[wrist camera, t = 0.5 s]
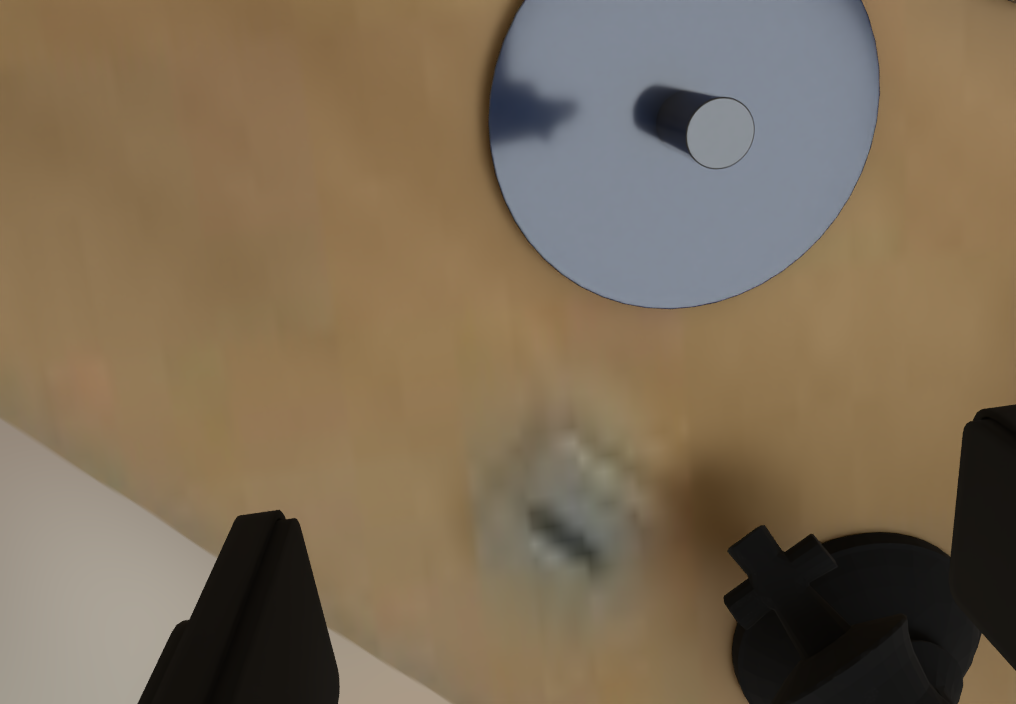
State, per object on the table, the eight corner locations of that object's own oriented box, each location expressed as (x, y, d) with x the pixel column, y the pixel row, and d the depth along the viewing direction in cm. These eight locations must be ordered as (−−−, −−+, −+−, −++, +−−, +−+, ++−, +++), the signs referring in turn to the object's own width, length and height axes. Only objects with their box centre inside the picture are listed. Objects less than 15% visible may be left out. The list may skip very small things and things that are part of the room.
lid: (743, -199, 33) (806, -250, 27) (930, 154, 39) (1014, 174, 33) (407, 81, 36) (398, 89, 30) (628, 367, 42) (656, 420, 36)
